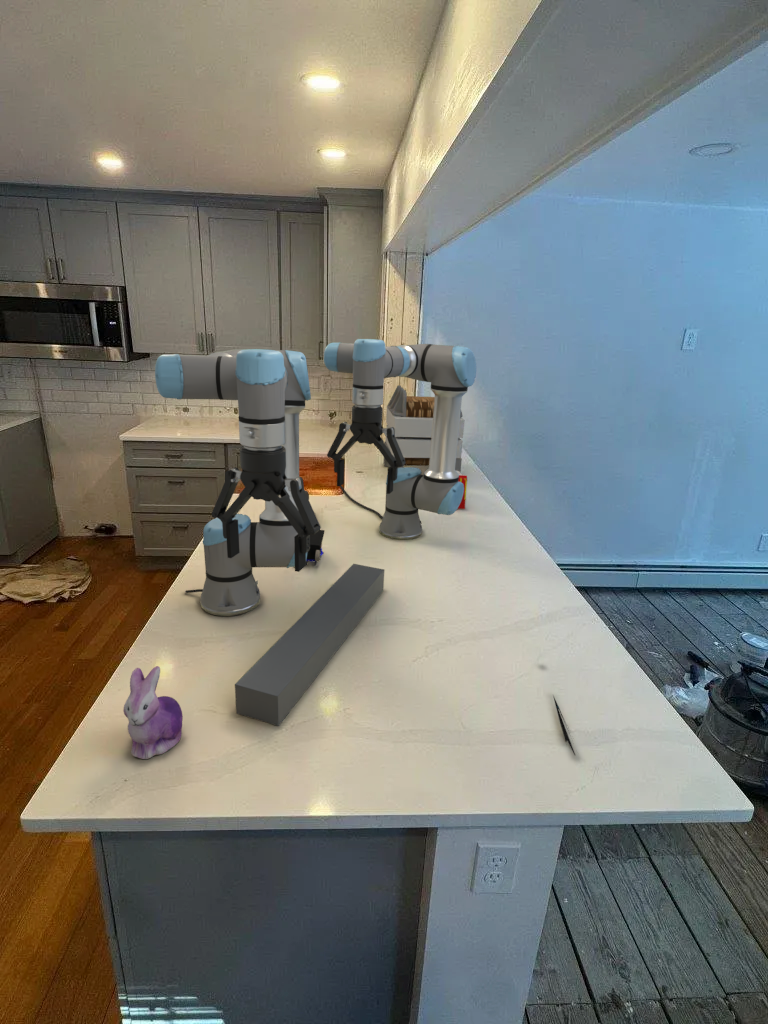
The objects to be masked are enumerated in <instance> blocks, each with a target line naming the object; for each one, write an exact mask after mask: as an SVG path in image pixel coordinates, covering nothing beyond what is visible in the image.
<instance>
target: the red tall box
mask: <svg viewBox="0 0 768 1024" xmlns="http://www.w3.org/2000/svg"><path fill="white" fill-rule="evenodd" d="M456 472H457V473H458V474H459V480H458V482H461V483H463V485H464V493H463V497H462V500H461V503H460V505H459V507H458V509H457V510H465V509H466V500H467V489H468V488H467V487H468V475H466V474H465V475H464V474H463V473H460V472H459V471H456Z"/></svg>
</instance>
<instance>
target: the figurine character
mask: <svg viewBox="0 0 768 1024" xmlns="http://www.w3.org/2000/svg"><path fill="white" fill-rule="evenodd" d="M325 531H326V530H325V529H320V530H319V531H318V532H317V533H315V534H314V535H310V550H309V551H308V553H307V559H306V566H308V563H309V562H310V563H311V562H312V563H313V566H314V567H316V566H317V564H318V562H320V561H321V557H322V556H323V555H324V551H323V539H324V536H325Z"/></svg>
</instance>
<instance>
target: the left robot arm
mask: <svg viewBox="0 0 768 1024" xmlns="http://www.w3.org/2000/svg"><path fill="white" fill-rule="evenodd" d="M309 378H310V377H309V370H308V363H307V358H306V356H305V354H304V353H303V352H302V351H297V350H288V349H268V348H267V349H264V348H250V349H249V348H237V349H229V350H224V351H215V352H211V353H210V354H208V355H201V354H200V355H198V354H179V353H174V354H161V355H160V356H158V357H157V359H156V362H155V366H154V379H155V386H156V389H157V392H158V394H159V395H160V396H161V397H162V398H165V399H173V400H175V399H176V400H220V401H237V406H238V433H239V434H238V436H239V443H240V445H241V447H240V448H239V462H240V468H241V470H239V468H238V467H233V468H230V469H228V470H226V471H225V473H224V483H223V486H222V488H221V490H220V493H219V495H218V498H217V500H216V502H215V505H214V507H213V509H212V511H211V517H212V518H213V519H211V520H209V521H208V522H207V523H206V524H205V525H204V527H203V530H202V531H203V535H202V537H203V539H202V544H203V545H202V546H203V554H204V567H205V580H204V584H203V587H202V588H199V589H188V590H187V589H186V590H185V591H184V592H185V594H190V593H200V600H199V601H200V607H201V609H202V610H203V611H204V612H206V613H207V614H210V615H213V616H218V617H233V616H239V615H243V614H246V613H249V612H251V611H253V610H254V609H256V608H257V607H258V606H259V604H260V603H261V591H260V589H259V586H258V585H259V580H256V579H255V576H254V574H253V568H286V569H290V568H294V572H296V573H299V572H301V571H302V570H303V569H304V568H305V567H307V565H306V559H307V553H308V551H309V550H310V535H314V534H315V533H317V532H318V531H319V530H322V529H321V528H322V527H321V524H320V522H319V520H318V517H317V515H316V513H315V511H314V508H313V507H312V504H311V502H310V499H309V500H308V497H307V495H306V493H305V491H306V490H305V486H304V485H305V484H304V478H303V477H301V476H300V414H301V413H302V411H303V410H304V409H305V408H306V401H310V400H311V399H312V394H311V386H310V380H309ZM239 482H241V483H242V484H243V486H244V488H243V489H242V490H241V491H240V492H239V494H238V497H236V498H235V500H234V501H233V502H232V503H231V505H230V506H229V504H230V502H231V500H232V498H233V496H234V494H235V491H236V488H237V486H238V483H239ZM304 490H305V491H304ZM252 498H253V500H257V501H258V500H262V501H264V510H263V511H262V512H261V513H260V514H259V515H258V520H259V521H252V519H251V518H250V516H249V515H248V514H242V513H239V512H240V511H241V510H242V508H243V507H244V506H245V505H246V504H247V503H248V502H249V500H250V499H252Z"/></svg>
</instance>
